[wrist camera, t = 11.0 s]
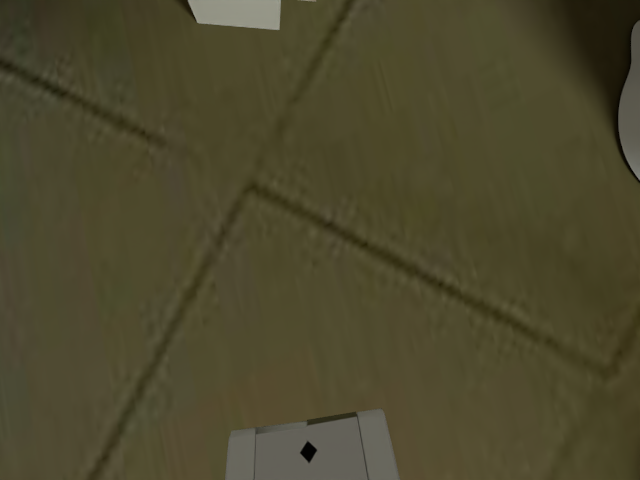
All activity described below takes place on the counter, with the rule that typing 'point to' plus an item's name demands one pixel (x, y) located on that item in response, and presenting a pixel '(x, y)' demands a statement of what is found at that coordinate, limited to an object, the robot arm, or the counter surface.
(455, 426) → the counter surface
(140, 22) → the counter surface
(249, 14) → the boxed book
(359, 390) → the counter surface
